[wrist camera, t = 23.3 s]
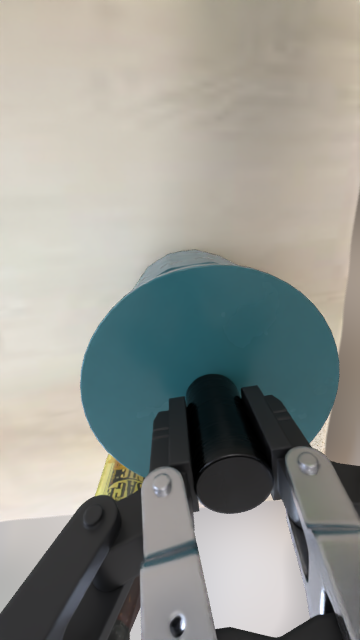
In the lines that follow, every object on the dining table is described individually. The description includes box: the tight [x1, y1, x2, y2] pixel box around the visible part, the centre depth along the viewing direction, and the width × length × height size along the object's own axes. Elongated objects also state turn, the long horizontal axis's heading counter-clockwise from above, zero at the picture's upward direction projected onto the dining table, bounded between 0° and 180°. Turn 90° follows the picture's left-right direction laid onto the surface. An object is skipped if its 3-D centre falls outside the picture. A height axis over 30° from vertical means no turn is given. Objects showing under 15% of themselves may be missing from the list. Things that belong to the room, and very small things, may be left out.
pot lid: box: [80, 263, 339, 514], centre depth 11 cm, size 13×13×6 cm
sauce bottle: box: [95, 453, 145, 640], centre depth 22 cm, size 7×6×20 cm
